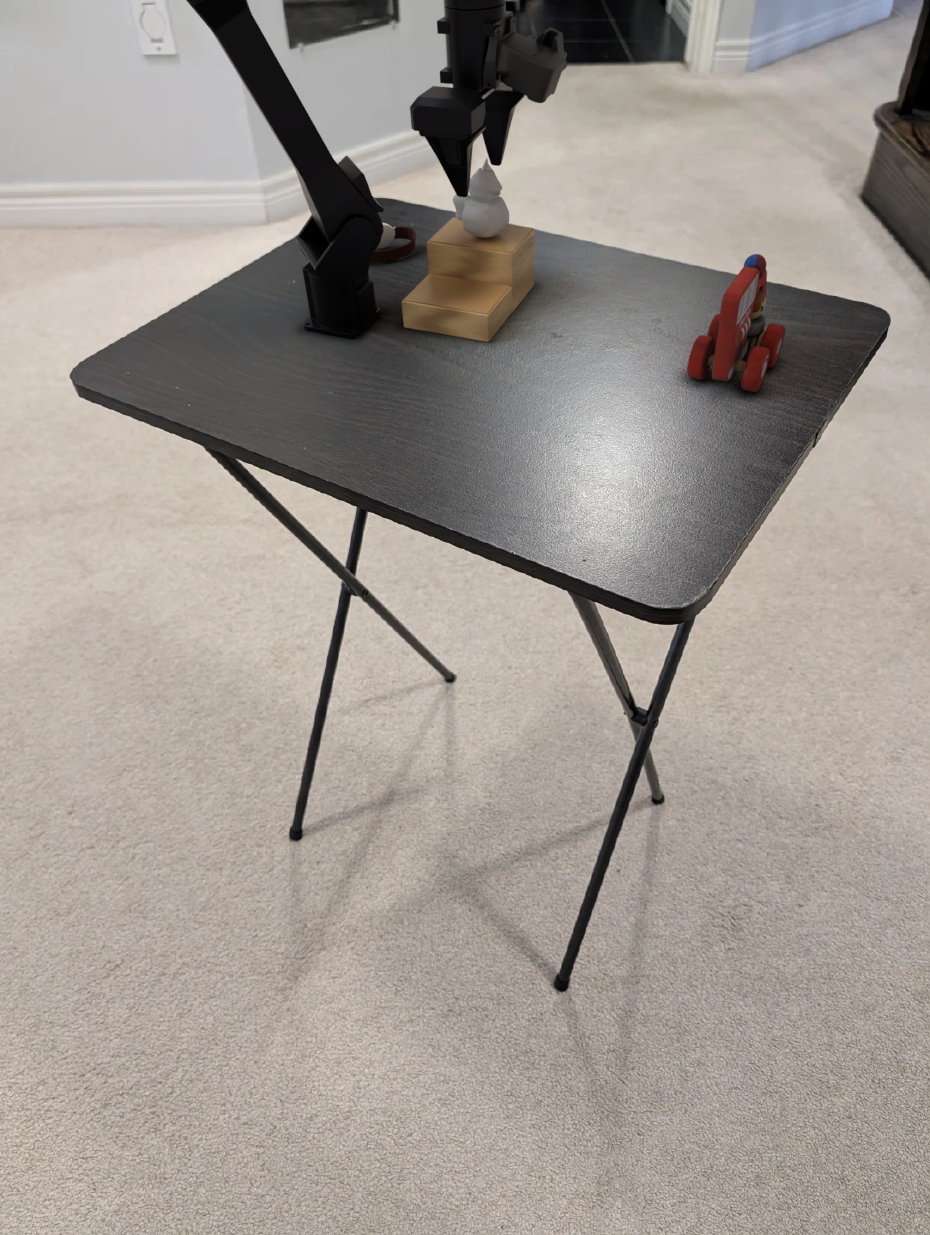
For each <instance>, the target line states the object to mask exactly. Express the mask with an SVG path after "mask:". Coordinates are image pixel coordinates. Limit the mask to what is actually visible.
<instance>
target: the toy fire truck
mask: <svg viewBox="0 0 930 1235" xmlns="http://www.w3.org/2000/svg"><path fill="white" fill-rule="evenodd" d="M767 278H768V271H767V260H766V258H765V256H764V255H762V254H760V253H754V254H751V255H749V256H748V257H747V258H746V259H745V261H744V263H743V267H742V268H741V269H740V271H739V272H738V273H737V275H736V276H735V278H734V280H733V281H732V282H731V284H730V285H729V286H728V288H727V289H726V290H725V291H724V293H723V296H722V300H721V305H720V312H719V313H716V314H715V315H714V316H713V318H712V320H711V321H710V323H709V327H708V330H707V334H706V335H702V334H700V335H698V336H697V337H696V338H695V339H694V342H693V344H692V347H691V349H690V353H689V357H688V361H687V362H688V363H687V368H686V373H687V376H688V377H689V378H691V379H695V380H700V381H701V380H704V379H705V378H706V377H707V375H708V373H709V371H710V368H711V367H712V372H711V378H712V380H715V381H721V382H728V381H730V380H731V378H732V377H734V376H735V375H736V373H737V372H741V373H742V377H741V385H740V387H741V389H742V390H743V391H748V392H751V393H757V392H758V391H759V390H760V388H761V387H762V384H763V381H764V380H765V375H766V373H767V370H768V368H773V367H774V366H775V365H776V364H777V361H778V359H779V357H780V355H781V352H782V348H783V345H784V341H785V335H786V326H785V325H783V324H779V323H772V322H771V323H770V324H768V325H767V327H766V322H767V320H766V319H767V318H766V316H765V315H764V311H765V309H766V304H767V300H766V298H767V297H766V296H767ZM765 327H766V329H765ZM747 353H749V354H748V356H747V360H746V361H745V360H743V358H744V357H745V355H746V354H747Z"/></svg>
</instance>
